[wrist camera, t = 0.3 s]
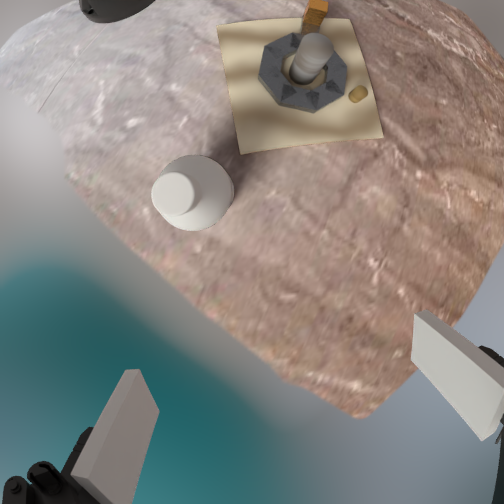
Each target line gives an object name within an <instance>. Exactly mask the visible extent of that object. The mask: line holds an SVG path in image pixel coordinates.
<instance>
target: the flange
mask: <svg viewBox="0 0 504 504" xmlns="http://www.w3.org/2000/svg"><path fill="white" fill-rule="evenodd" d="M327 10H328V2H325V1H322V0H309V2H308V4H307V7H306V9H305V12H304V15H303V17H302V22H301V28H300V34H298V33H293V32H292V33H290V34H288V35H286V36H284V37H281V38H279V39H277V40H275V41H273V42H271V43H269V44H267V45H265V46H264V50H263V55H262V60H261V64H260V69H259V74H258V80H259V81H260V83H261V84H262V85H263V86H264V88H265V89H266V90H267V91H268V93H269V94H270V95H271V96H272V98H273V99H274V100H275V102H276V103H277V104H278V105H279V106H283V107H287V108H292V109H296V110H301V111H305V112H309V113H313V114H314V113H316V112H317V111H319V110H321V109H322V108H324V107H326V106H328V105H329V104H331V103H333V102H335V101H336V100H338V99H340V98H341V97H342V96H344V92H345V84H346V74H347V65H346V64H345V63H344V61H343V60H342V59H341V58H340V56H339V55H338V54H337V53H336V52H335V50H334V52H333V54H332V55H331V57H330V58H329V60H328V61H327V62H326V64H325V65H324V67H323V69H324V71H325V74H324V82H323V84H322V85H320V86H319V87H317V88H315V89H313V90H307V89H303V88H299V87H295V86H292V85H291V84H290V83H289V81H288V80H287V79H286V78H285V77H284V75H283V74H282V73H281V72H280V70H281V65H282V60H284V59H286V58H288V57H290V56H292V55H294V54H296V52H297V50H298V48H299V45H300V43H301V41H302V39H303V37H304V36H305V35H307V34H309V33H319V29H320V25H321V23H322V21H323V19H324V17H325V16H326V14H327Z"/></svg>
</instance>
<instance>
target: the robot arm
mask: <svg viewBox="0 0 504 504" xmlns="http://www.w3.org/2000/svg"><path fill="white" fill-rule="evenodd" d="M153 1H154V0H79V4H80V8H81V10H82V12H83V13H84V15H85V16H86V17H87V18H88V19H89V20H91V21H93V22H96V23H111V22H116V21H119V20H122V19H125V18H127V17H130V16H132V15H134V14H136V13H138V12H139V11H141V10H143V9H144V8H145V7H147V6H148V5H149V4H151V3H152V2H153ZM411 360H412V362H413V363H414V364H415V365H416V366H417V367H418V368H419V369H420V370H421V371H422V372H423V374H424V375H425V376H426V377H427V378H428V379H429V380H430V381H431V383H432V384H433V385H434V386H435V387H436V388H437V389H438V390H439V392H440V393H441V394H442V395H443V396H444V397H445V398H446V400H447V401H448V402H449V403H450V404H451V405H452V406H453V407H454V409H455V410H456V411H457V412H458V413H459V415H460V416H461V417H462V418H463V419H464V420H465V422H466V423H467V424H468V425H469V426H470V427H471V429H472V430H473V431H474V432H475V433H476V435H477V436H478V437H479V439H480V440H481V441H483V440H484V439H486V438H487V437H489V436H490V435H491V434H493V433H494V432H495V431H496V429H497V427H498V425H499V423H500V422H501V423H502V424H503V425H504V358H503V357H501V356H499V354H497V353H496V352H495V351H493V350H492V349H490V348H487V347H484V346H480V347H477V346H475V345H474V344H473V343H471V342H470V341H469V340H467V339H466V338H465V337H464V336H462V335H461V334H459V333H458V332H457V331H456V330H454V329H453V328H452V327H450V326H449V325H448V324H446V323H445V322H443V321H442V320H441V319H439V318H438V317H437V316H435V315H434V314H433V313H431V312H430V311H428V310H427V309H426V310H423V311H421V312H418V313H415V314H414V330H413V343H412V354H411ZM158 413H159V410H158V408H157V406H156V404H155V402H154V399H153V397H152V395H151V393H150V391H149V389H148V387H147V385H146V383H145V380H144V378H143V376H142V374H141V372H140V369H134V370H125V372H124V374H123V376H122V377H121V379H120V381H119V383H118V384H117V386H116V388H115V390H114V392H113V393H112V395H111V397H110V399H109V401H108V402H107V404H106V406H105V408H104V410H103V412H102V414H101V416H100V417H99V419H98V421H97V423H96V425H95V427H88V428H87V429H86V430H85V431H84V432H83V433H82V434H81V435H80V437H79V439H78V441H77V445H75V447H74V448H73V451H72V452H71V454H70V456H69V458H68V460H67V462H66V463H65V465H64V467H63V469H62V471H61V473H59V471H58V470H57V469H56V468H55V467H54V466H53V465H52V464H51V463H49V462H46V461H42V462H37V463H36V464H34V465H32V467H31V468H30V469H29V471H28V473H27V479H28V480H29V481H30V482H32V484H29V483H28V482H27V481H26V480H25V479H24V478H22V477H21V476H13V477H11V478H9V479H8V480H7V482H6V483H5V486H4V491H3V500H2V504H132V501H133V497H134V493H135V490H136V486H137V482H138V479H139V476H140V472H141V469H142V466H143V462H144V459H145V456H146V452H147V449H148V446H149V442H150V439H151V436H152V433H153V429H154V426H155V423H156V420H157V417H158ZM500 438H501V448H500V459H499V466H498V473H497V479H496V485H495V491H494V496H493V501H492V504H504V426H503V428H502V430H501V432H500V434H499V436H498V438H497V439H496V443H495V444H497V443H498V442H499V440H500Z"/></svg>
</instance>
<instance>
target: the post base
mask: <svg viewBox="0 0 504 504" xmlns="http://www.w3.org/2000/svg"><path fill="white" fill-rule="evenodd" d="M301 22H302V18H281V19H266V20H255V21H245V22H237V23H230V24H224V25H218V26H216V27H217V33H218V38H219V44H220V49H221V54H222V59H223V65H224V70H225V75H226V80H227V86H228V91H229V97H230V102H231V107H232V113H233V118H234V123H235V129H236V134H237V140H238V145H239V150H240V155H243V154H249V153H255V152H261V151H267V150H274V149H281V148H288V147H295V146H303V145H312V144H321V143H331V142H342V141H354V140H368V139H381V138H384V137H383V132H382V127H381V123H380V118H379V114H378V110H377V105H376V101H375V97H374V94H373V90H372V86H371V82H370V79H369V75H368V72H367V69H366V65H365V62H364V59H363V56H362V53H361V50H360V47H359V44H358V41H357V38H356V35H355V32H354V30H353V27H352V24H351V22H350V19H338V18H324V19H323V21H322V23H321V25H320V29H319V33H309V34H307V35H305V36H304V37H303V39H302V41H301V43H300V45H299V48H298V50H297V52H296V54H294V55H292V56H290V57H288V58H286V59H284V60H282V65H281V70H280V72H281V73H282V74H283V75H284V77H285V78H286V79H287V80H288V81H289V83H290V84H291V85H292V86H295V87H299V88H303V89H307V90H313V89H315V88H317V87H319V86H320V85H322V84H323V82H324V74H325V71H324V69H323V67H324V65H325V64H326V62H327V61H328V60H329V58H330V57H331V55H332V54H333V52H334V50H335V52H336V53H337V54H338V55H339V56H340V58H341V59H342V60H343V61H344V63H345V64H346V65H347V74H346V84H345V92H344V96H342V97H341V98H340V99H338V100H336V101H335V102H333V103H331V104H329V105H328V106H326V107H324V108H322V109H321V110H319V111H317V112H316V113H314V114H313V113H309V112H305V111H301V110H296V109H292V108H287V107H283V106H279V105H278V104H277V103H276V102H275V100H274V99H273V98H272V96H271V95H270V94H269V93H268V91H267V90H266V89H265V88H264V86H263V85H262V84H261V83H260V81H259V80H258V74H259V69H260V64H261V60H262V55H263V50H264V46H265V45H267V44H269V43H271V42H273V41H275V40H277V39H279V38H281V37H284V36H286V35H288V34H290V33H292V32H293V33H298V34H300V28H301Z"/></svg>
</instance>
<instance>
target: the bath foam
mask: <svg viewBox="0 0 504 504" xmlns="http://www.w3.org/2000/svg"><path fill="white" fill-rule="evenodd" d="M151 196H152V201H153V204H154V206H155V208H156V209H157V210H158V211H159V212H160V213H161V215H162V216H163V217H164V218H165V219H166V220H167V221H168V222H169V223H170V224H172V225H173V226H175V227H177V228H180V229H183V230H188V231H198V230H203V229H206V228H209V227H211V226H213V225H215V224H216V223H217V222H218V221H219V220H220V219H221V218H222V217H223V216H224V214H225V213H226V212H227V210H228V209H229V207H230V206H231V204H232V202H233V198H234V185H233V182H232V180H231V178H230V176H229V175H228V174H227V172H226V171H225V170H224V168H223V167H222V166H221V165H220V164H219V163H218V162H216V161H215V160H213V159H211V158H209V157H206V156H202V155H188V156H183V157H180V158H178V159H176V160H174V161H172V162H171V163H170V164H168V165H167V166H166V167H165V168H164V170H163V171H162V172H161V174H160V176H159V178H158V179H157V180H156V181H155V183H154V185H153V187H152V192H151Z"/></svg>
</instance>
